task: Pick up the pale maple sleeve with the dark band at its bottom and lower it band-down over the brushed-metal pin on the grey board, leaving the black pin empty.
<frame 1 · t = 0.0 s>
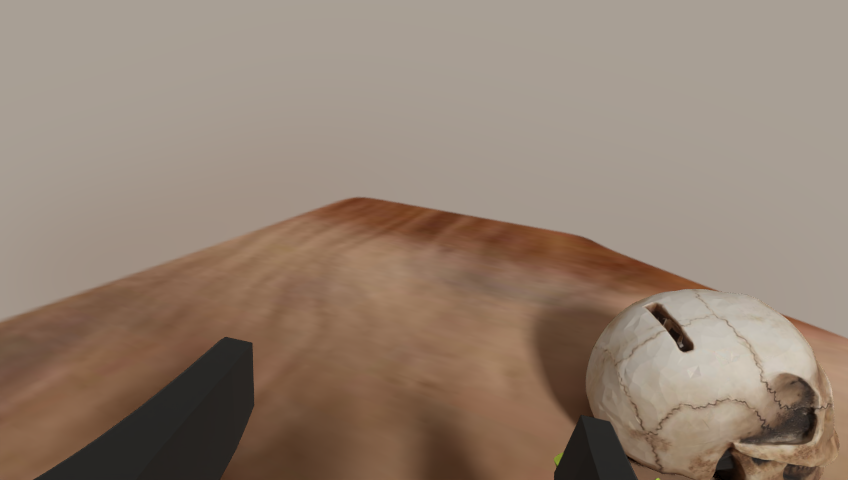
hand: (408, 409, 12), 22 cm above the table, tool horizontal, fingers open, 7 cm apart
coin bank: (695, 442, 44), on the table
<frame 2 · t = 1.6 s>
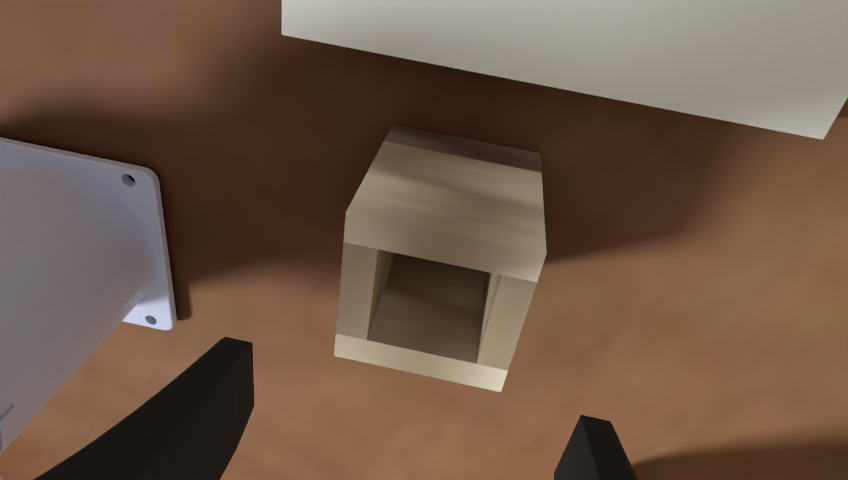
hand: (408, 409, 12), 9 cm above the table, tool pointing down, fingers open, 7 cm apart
sleeve: (453, 202, 20), on the table
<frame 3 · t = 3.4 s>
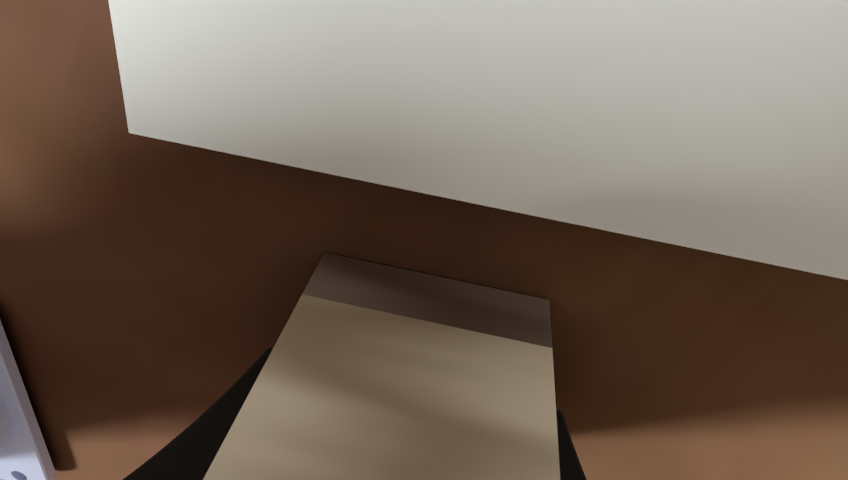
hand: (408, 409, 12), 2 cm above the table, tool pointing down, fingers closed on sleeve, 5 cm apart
sleeve: (419, 357, 14), on the table, touching gripper
when the fingers open (3 cm above the table, at t = 7.4 s): sleeve stays where it is, resting on pinboard.
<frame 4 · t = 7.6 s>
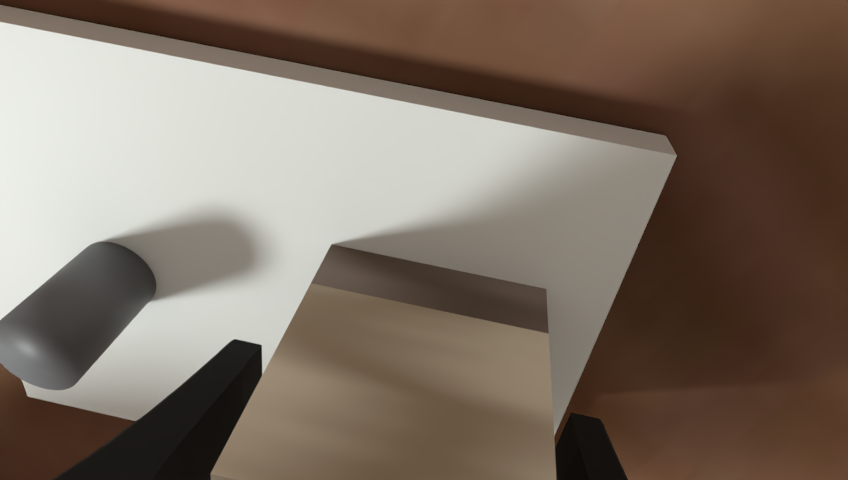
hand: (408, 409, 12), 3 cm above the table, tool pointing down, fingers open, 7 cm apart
pinboard: (283, 283, 15), on the table
sleeve: (422, 345, 14), point 1 cm above the table, touching pinboard
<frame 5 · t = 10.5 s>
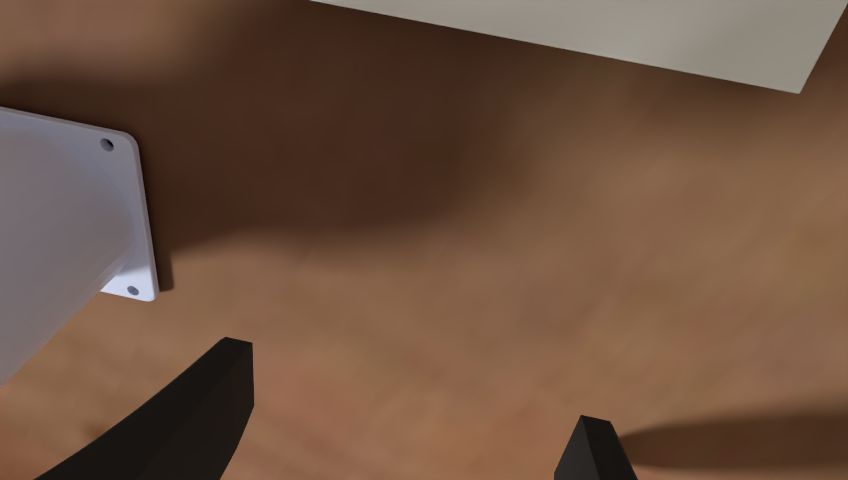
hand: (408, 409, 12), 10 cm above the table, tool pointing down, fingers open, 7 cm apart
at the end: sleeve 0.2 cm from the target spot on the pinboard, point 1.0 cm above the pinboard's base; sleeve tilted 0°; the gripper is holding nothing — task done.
